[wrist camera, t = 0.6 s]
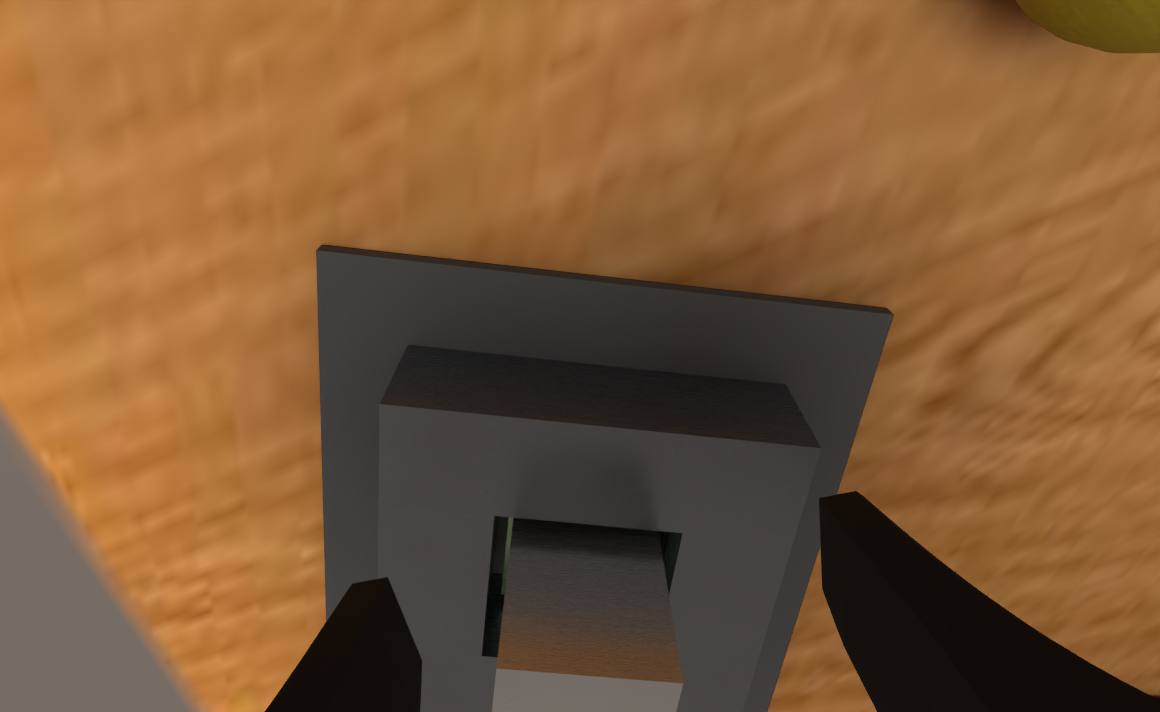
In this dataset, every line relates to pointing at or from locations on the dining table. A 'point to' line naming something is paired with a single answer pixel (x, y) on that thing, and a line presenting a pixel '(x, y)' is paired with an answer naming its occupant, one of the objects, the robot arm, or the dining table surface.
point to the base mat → (585, 335)
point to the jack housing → (586, 501)
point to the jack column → (585, 621)
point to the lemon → (1100, 23)
